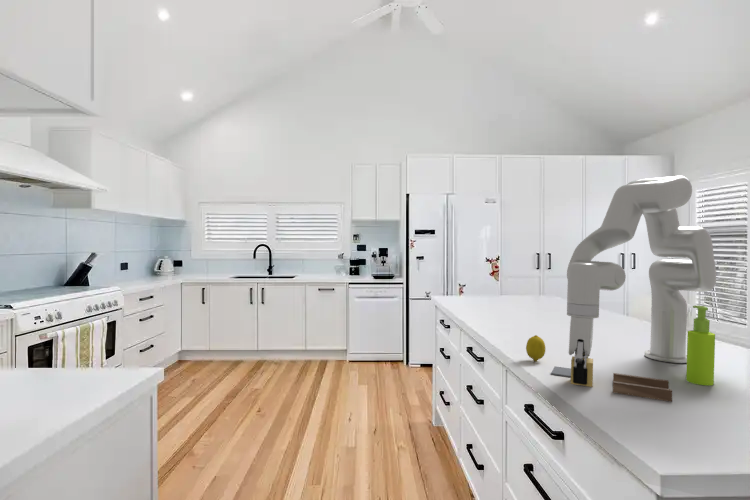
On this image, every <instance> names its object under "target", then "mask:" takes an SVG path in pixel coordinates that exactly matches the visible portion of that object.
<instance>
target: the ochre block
mask: <svg viewBox="0 0 750 500" xmlns="http://www.w3.org/2000/svg"><path fill="white" fill-rule="evenodd" d="M571 356H572V355H571ZM583 359H584V358H583ZM574 361H575V355H574V356H572V357H571V359H570V362H571V363H570V368H571V377H570V385H577V386H584V387H589V388H590V387H592V388H593V382H594V380H593V379H594V358H589V357H588V358H587V364H586V368H587V384H586V385H584V384H578V383H574V382H573V367H574Z"/></svg>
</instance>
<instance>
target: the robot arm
mask: <svg viewBox="0 0 750 500" xmlns="http://www.w3.org/2000/svg"><path fill="white" fill-rule="evenodd" d="M692 194H693V186H692V183H691V181H690V180H689V179H688V178H687V177H685V176H684V175H675V176H674V175H673V176H663V177H652V178H642V179H637V180H636V179H635V180H632V181H629V182H628V183H626V184H624V185H621V186H619V187H618V188H617V189H616V190H615V191H614V193H613V196H612V199H611V201H610V204H609V206H608V209H607V211H606V213H605V216H604V218H603V221H602V223H601V225H600V227H598V228H597V229H596V230H594V231H593V232H591V233H590V234H589V235H588V236H586V237H585V238H584V239H583V240H581V241H580V243H578V244H577V246H576V247H575V249H574V250H573V253H572V255H571V257H570V260H569V263H568V266H567V268H566V278H567V288H566V289H567V292H566V293H567V294H566V295H567V296H566V315H567V316H569V317H570V321H569V338H568V339H569V340H568V343H569V344H568V354H569V356H572V355H574V357H575V361H574V367H573V382H574V383H578V384H584V385H586V384H587V368H586V364H587V358H589V357H590V355H591V352H592V346H593V338H594V319H599V318H600V293H601V292H600V291H609V292H610V291H617V290H618V289H620V288H621V287H623V285H624V284H625V281H626V271H625V270H624V268H623V267H622V265H620V264H618V263H615V262H611V261H599V260H595V261H594V260H593V259H594V258H595V257H596V256H597V255H598V254H600V253H602V252H605V251H607V250H609V249H612V248H616V247H617V246H620V245H623V244H625V243H628V242H629V241H631V240H632V239H633V238H634V236H635V234H636V231H637V228H638V226H639V224H640V220H641V217H642V216H643V217H644V219H645V224H646V232H647V238H648V244H649V248H650V251H651V253H652V254H653V255H654V256H656V257H661V259H657V260H656V261H653V262H652V263H651V264H650V266H649V268H648V277H649V278H648V279H649V283H650V284H649V285H650V290H651V292H650V293H651V308H650V311H651V314H650V343H649V344H650V345H649V346H650V347H649V350H645V351H644V356H645V357H646V358H649V359H651V360H655V361H660V362H666V363H675V364H687V321H688V320H687V319H688V303H687V302H686V299H685V297H684V296H683V295H682V293H681V292H680V291H684V292H696V293H697V292H698V293H702V292H703V293H706V292H707V293H708V292H710V291H712V290H713V289H714V288H715V286H716V283H717V271H716V269H717V268H716V263H715V253H714V248H713V241H712V236H711V234H710V233H709V231H708V230H707V229H706V228H704V227H701V226H681V224H680V222H679V215H678V211H677V209H678V208H681V207H682V206H684V205H686V204H687V203H688V202H689V201H690V199H691V197H692ZM662 258H663V259H662ZM667 258H668V259H667ZM669 258H670V259H669ZM672 258H673V259H672ZM675 258H676V259H675ZM678 258H679V259H678ZM583 358H584V359H583Z"/></svg>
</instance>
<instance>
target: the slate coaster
mask: <svg viewBox="0 0 750 500" xmlns="http://www.w3.org/2000/svg"><path fill="white" fill-rule="evenodd" d="M550 375H551V376H558V377H559V376H560V377H565V378H571V367H564V366H563V367H561V366H554V367H553V369H552V371H551V373H550Z"/></svg>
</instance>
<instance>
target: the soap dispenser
mask: <svg viewBox="0 0 750 500" xmlns="http://www.w3.org/2000/svg"><path fill="white" fill-rule="evenodd" d="M692 308H693V309H697V317H695V318H693V330H687V335H686V355H687V363H686V371H685V372H686V375H685V376H686V377H685V378H686V379H685V380H686V382H688V383H690V384H693V385H699V386H708V387H709V386H714V385H715V383H714V382H715V358H716V357H715V354H716V351H715V349H716V334H715V333H714V332H711V331H710V319H708V318H707V317H706V316H707V314H706V313H707V311H709V307H707V306H705V305H692Z"/></svg>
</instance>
